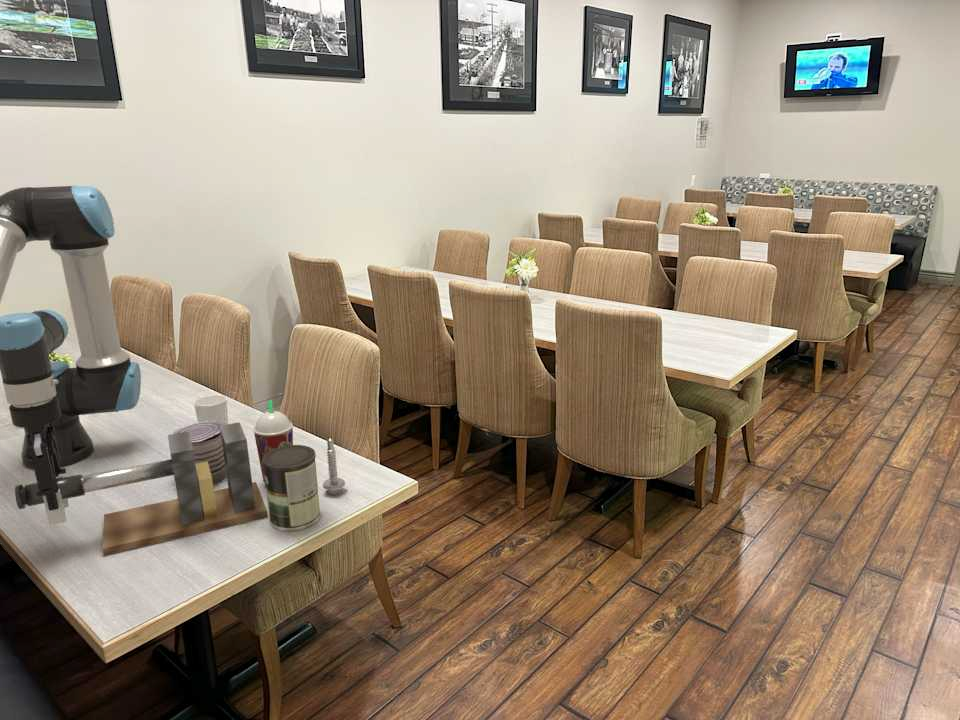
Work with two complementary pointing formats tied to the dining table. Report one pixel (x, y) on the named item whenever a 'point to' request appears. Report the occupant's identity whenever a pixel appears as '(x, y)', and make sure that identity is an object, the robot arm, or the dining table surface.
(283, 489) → the coffee can
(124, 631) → the dining table surface
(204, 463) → the collar
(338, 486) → the screw
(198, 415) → the white cup
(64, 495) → the shaft
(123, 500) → the dining table surface
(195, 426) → the can
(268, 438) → the smoothie
